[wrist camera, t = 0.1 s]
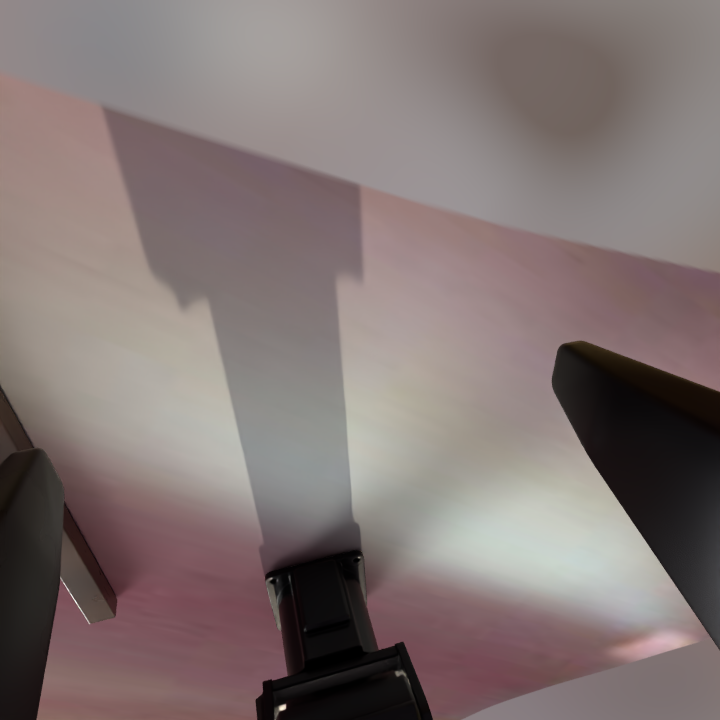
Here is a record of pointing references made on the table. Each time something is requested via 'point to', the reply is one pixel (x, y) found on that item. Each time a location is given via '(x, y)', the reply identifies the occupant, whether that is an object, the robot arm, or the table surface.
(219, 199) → the table surface
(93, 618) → the brown wooden flat frame
